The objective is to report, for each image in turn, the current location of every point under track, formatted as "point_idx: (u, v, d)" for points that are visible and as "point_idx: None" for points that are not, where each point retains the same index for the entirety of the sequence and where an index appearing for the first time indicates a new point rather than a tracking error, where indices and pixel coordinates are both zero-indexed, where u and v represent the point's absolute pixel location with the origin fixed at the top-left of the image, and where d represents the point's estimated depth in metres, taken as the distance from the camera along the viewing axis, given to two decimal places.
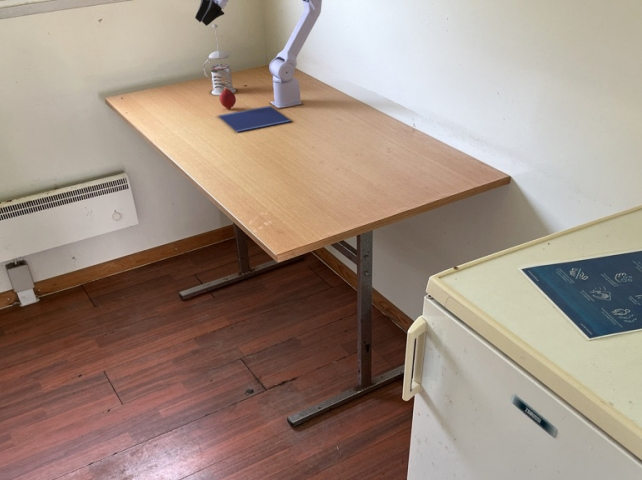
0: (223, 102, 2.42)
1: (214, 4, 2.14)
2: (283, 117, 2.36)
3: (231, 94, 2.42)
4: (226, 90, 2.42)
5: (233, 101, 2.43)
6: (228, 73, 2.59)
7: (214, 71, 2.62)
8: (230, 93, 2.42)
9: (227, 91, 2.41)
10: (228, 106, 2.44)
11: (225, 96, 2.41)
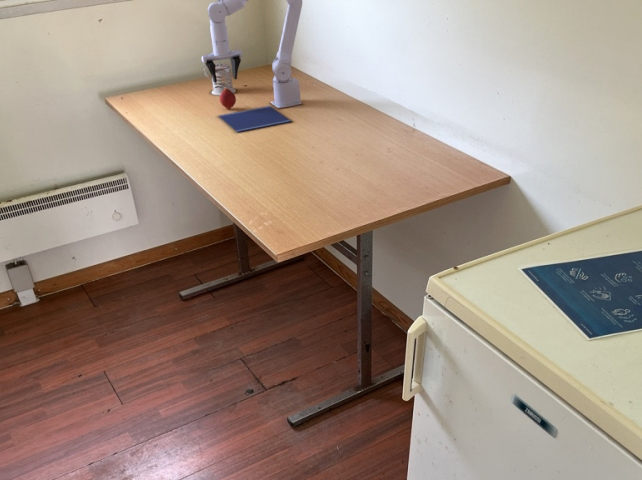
0: (223, 102, 2.42)
1: (205, 62, 2.35)
2: (283, 117, 2.36)
3: (231, 94, 2.42)
4: (226, 90, 2.42)
5: (233, 101, 2.43)
6: (228, 73, 2.59)
7: None
8: (230, 93, 2.42)
9: (227, 91, 2.41)
10: (228, 106, 2.44)
11: (225, 96, 2.41)
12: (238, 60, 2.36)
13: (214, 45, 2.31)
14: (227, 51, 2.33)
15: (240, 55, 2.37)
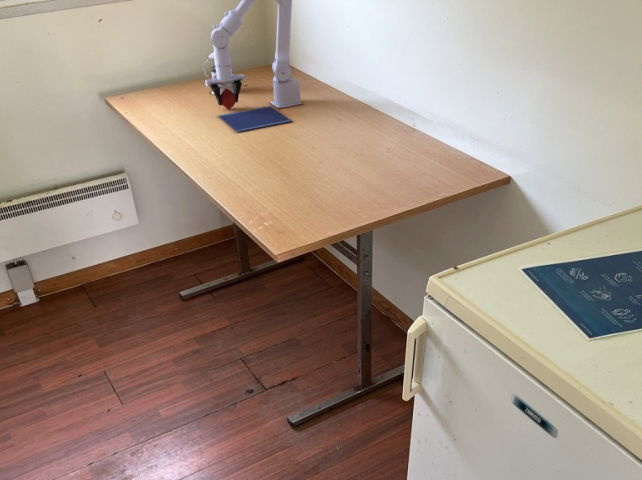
0: (223, 102, 2.42)
1: (210, 86, 2.40)
2: (283, 117, 2.36)
3: (231, 94, 2.42)
4: (226, 90, 2.42)
5: (233, 101, 2.43)
6: None
7: (214, 71, 2.62)
8: (230, 93, 2.42)
9: (227, 91, 2.41)
10: (228, 106, 2.44)
11: (225, 96, 2.41)
12: (239, 84, 2.41)
13: (217, 70, 2.36)
14: (230, 75, 2.38)
15: (243, 79, 2.42)
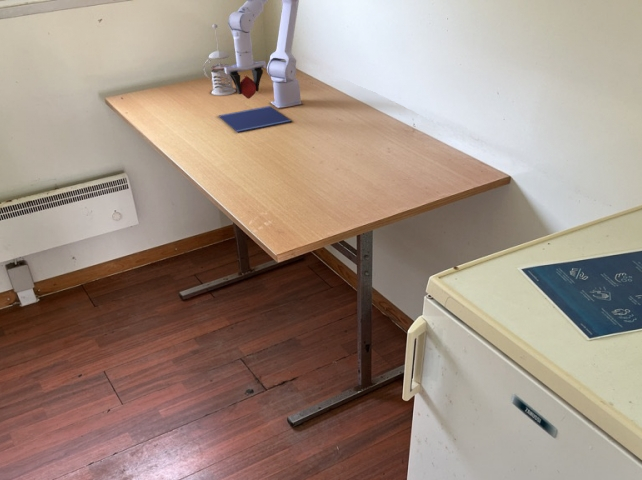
0: (243, 91, 2.29)
1: (229, 74, 2.27)
2: (283, 117, 2.36)
3: (251, 82, 2.29)
4: (246, 78, 2.28)
5: (253, 90, 2.30)
6: None
7: (214, 71, 2.62)
8: (250, 81, 2.28)
9: (247, 79, 2.28)
10: (248, 95, 2.30)
11: (245, 84, 2.28)
12: (260, 72, 2.27)
13: (237, 56, 2.23)
14: (251, 62, 2.24)
15: (264, 66, 2.29)
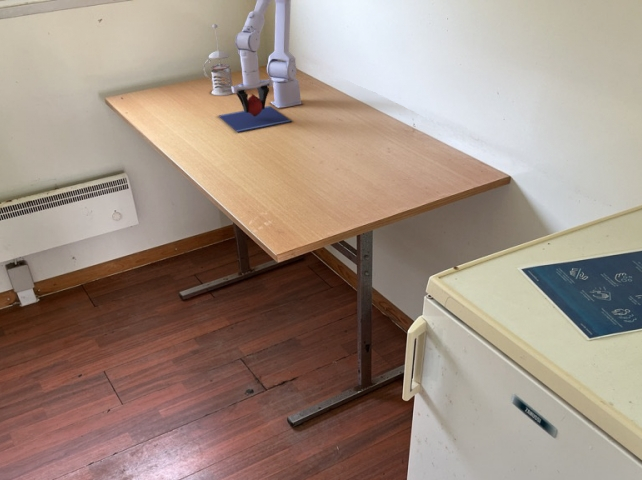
0: (250, 109, 2.31)
1: (236, 92, 2.28)
2: (283, 117, 2.36)
3: (258, 100, 2.30)
4: (253, 96, 2.30)
5: (260, 108, 2.31)
6: (228, 73, 2.59)
7: (214, 71, 2.62)
8: (257, 99, 2.30)
9: (254, 97, 2.30)
10: (255, 113, 2.32)
11: (252, 103, 2.29)
12: (267, 90, 2.29)
13: (245, 75, 2.24)
14: (258, 81, 2.26)
15: (270, 84, 2.31)
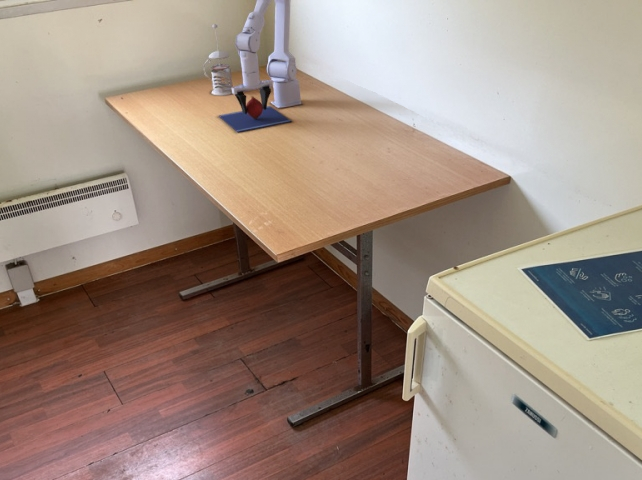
0: (250, 112, 2.31)
1: (234, 94, 2.28)
2: (283, 117, 2.36)
3: (258, 103, 2.31)
4: (253, 99, 2.30)
5: (260, 110, 2.32)
6: (228, 73, 2.59)
7: (214, 71, 2.62)
8: (257, 102, 2.31)
9: (254, 100, 2.30)
10: (255, 116, 2.33)
11: (253, 105, 2.30)
12: (268, 90, 2.30)
13: (245, 76, 2.24)
14: (258, 82, 2.26)
15: (270, 85, 2.31)
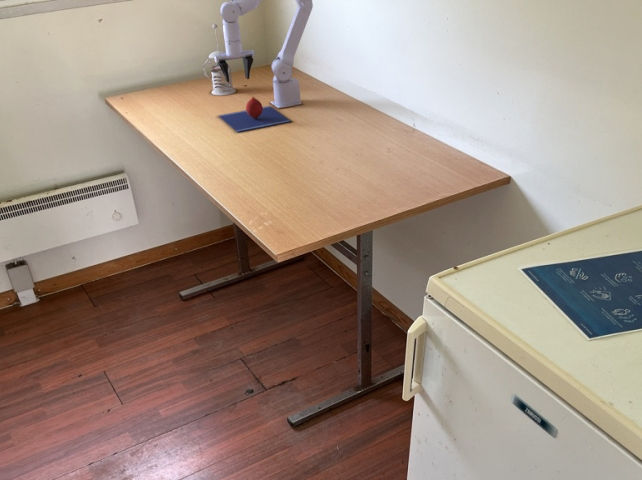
0: (250, 112, 2.31)
1: (217, 62, 2.35)
2: (283, 117, 2.36)
3: (258, 103, 2.31)
4: (253, 99, 2.30)
5: (260, 110, 2.32)
6: (228, 73, 2.59)
7: (214, 71, 2.62)
8: (257, 102, 2.31)
9: (254, 100, 2.30)
10: (255, 116, 2.33)
11: (253, 105, 2.30)
12: (251, 60, 2.36)
13: (227, 45, 2.31)
14: (240, 51, 2.33)
15: (252, 55, 2.37)
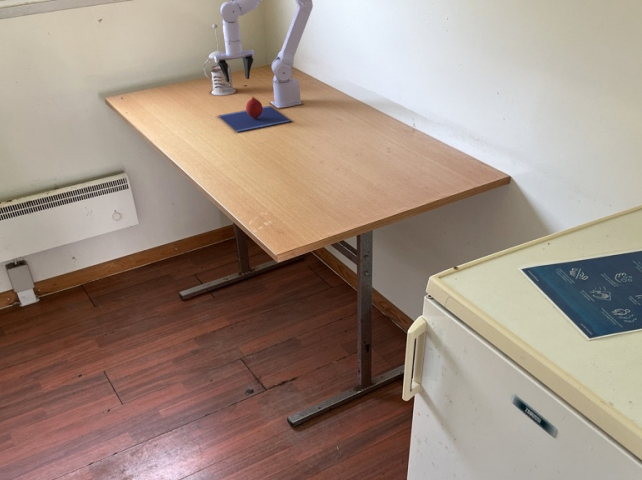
0: (250, 112, 2.31)
1: (217, 62, 2.35)
2: (283, 117, 2.36)
3: (258, 103, 2.31)
4: (253, 99, 2.30)
5: (260, 110, 2.32)
6: (228, 73, 2.59)
7: (214, 71, 2.62)
8: (257, 102, 2.31)
9: (254, 100, 2.30)
10: (255, 116, 2.33)
11: (253, 105, 2.30)
12: (251, 60, 2.36)
13: (227, 45, 2.31)
14: (240, 51, 2.33)
15: (252, 55, 2.37)
